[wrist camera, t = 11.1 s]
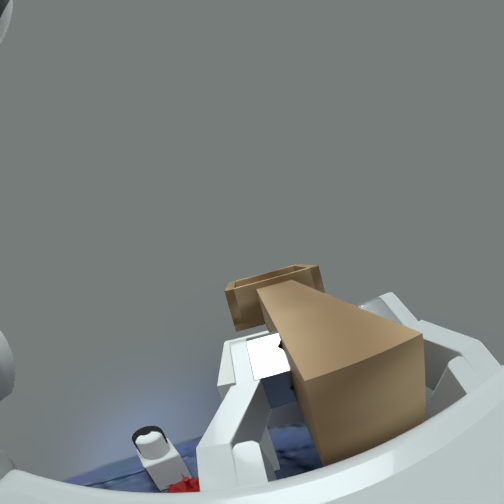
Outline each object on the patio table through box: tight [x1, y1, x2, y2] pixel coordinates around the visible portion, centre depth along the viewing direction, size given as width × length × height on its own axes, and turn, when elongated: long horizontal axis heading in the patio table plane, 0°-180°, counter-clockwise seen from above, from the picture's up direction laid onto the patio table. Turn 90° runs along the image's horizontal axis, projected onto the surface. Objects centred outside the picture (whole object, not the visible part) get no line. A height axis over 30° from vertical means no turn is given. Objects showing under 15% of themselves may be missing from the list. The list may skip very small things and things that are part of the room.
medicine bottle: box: [132, 426, 192, 491], centre depth 39 cm, size 7×7×12 cm
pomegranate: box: [165, 473, 200, 493], centre depth 28 cm, size 10×10×9 cm
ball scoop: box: [225, 264, 425, 467], centre depth 14 cm, size 6×20×3 cm, turn 2°
